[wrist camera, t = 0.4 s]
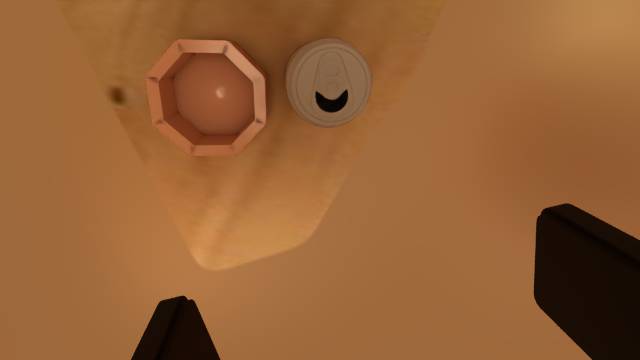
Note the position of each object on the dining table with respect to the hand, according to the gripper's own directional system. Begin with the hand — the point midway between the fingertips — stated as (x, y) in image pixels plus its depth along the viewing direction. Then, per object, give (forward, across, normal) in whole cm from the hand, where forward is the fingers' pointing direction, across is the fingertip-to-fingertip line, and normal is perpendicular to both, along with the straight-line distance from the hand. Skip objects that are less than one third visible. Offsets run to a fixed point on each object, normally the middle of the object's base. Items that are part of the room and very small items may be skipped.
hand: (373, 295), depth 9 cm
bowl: (+29, +8, -4) cm, 30 cm away
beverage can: (+29, -2, -4) cm, 29 cm away
